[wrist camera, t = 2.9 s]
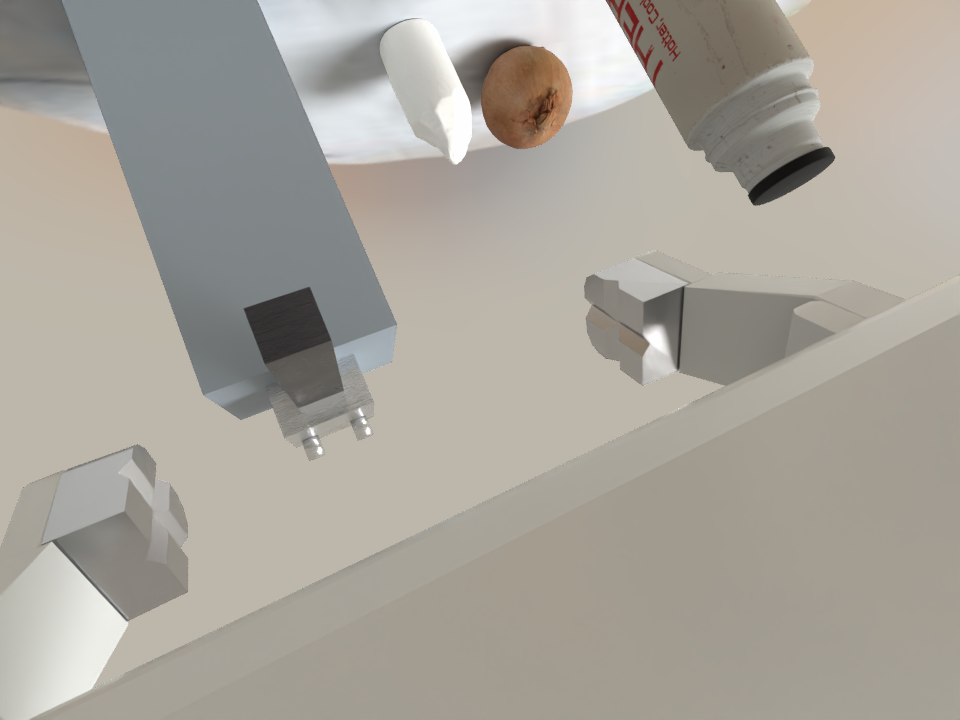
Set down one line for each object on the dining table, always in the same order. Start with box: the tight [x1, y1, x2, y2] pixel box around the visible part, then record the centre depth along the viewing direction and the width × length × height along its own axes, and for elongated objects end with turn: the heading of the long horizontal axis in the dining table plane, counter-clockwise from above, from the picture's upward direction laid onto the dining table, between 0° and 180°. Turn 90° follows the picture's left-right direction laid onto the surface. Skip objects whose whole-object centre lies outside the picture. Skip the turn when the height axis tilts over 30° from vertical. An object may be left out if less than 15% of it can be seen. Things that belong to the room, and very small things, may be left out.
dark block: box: [243, 287, 374, 461], centre depth 27 cm, size 16×5×4 cm, turn 168°
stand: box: [62, 0, 397, 420], centre depth 34 cm, size 8×10×27 cm
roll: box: [379, 19, 472, 165], centre depth 47 cm, size 6×12×6 cm
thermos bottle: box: [606, 0, 835, 205], centre depth 36 cm, size 8×8×28 cm
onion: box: [481, 46, 573, 149], centre depth 56 cm, size 10×9×10 cm
